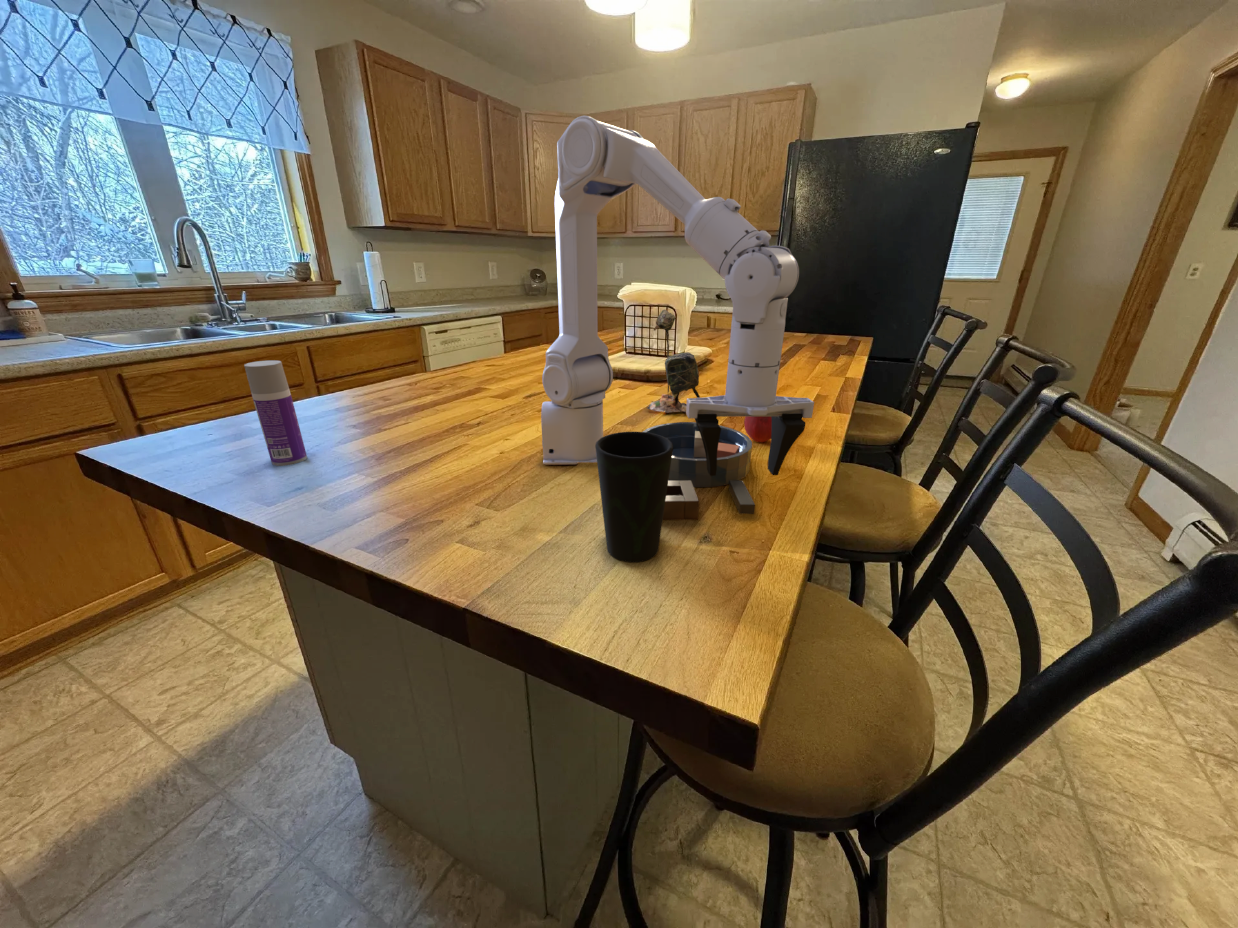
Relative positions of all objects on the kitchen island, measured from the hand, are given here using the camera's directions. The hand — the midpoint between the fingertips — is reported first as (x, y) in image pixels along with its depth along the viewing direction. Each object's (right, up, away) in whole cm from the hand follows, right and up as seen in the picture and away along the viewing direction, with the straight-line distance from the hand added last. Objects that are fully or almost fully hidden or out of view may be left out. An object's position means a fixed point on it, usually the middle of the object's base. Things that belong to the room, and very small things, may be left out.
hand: (742, 472), depth 61 cm
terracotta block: (0, 0, +11) cm, 11 cm away
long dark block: (0, -5, -2) cm, 5 cm away
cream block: (-2, +3, +16) cm, 17 cm away
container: (-66, +1, +15) cm, 68 cm away
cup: (-14, -8, -8) cm, 18 cm away
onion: (+9, +4, +22) cm, 24 cm away
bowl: (-4, 0, +13) cm, 13 cm away
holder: (-9, -5, 0) cm, 10 cm away
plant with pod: (-4, +12, +40) cm, 42 cm away
